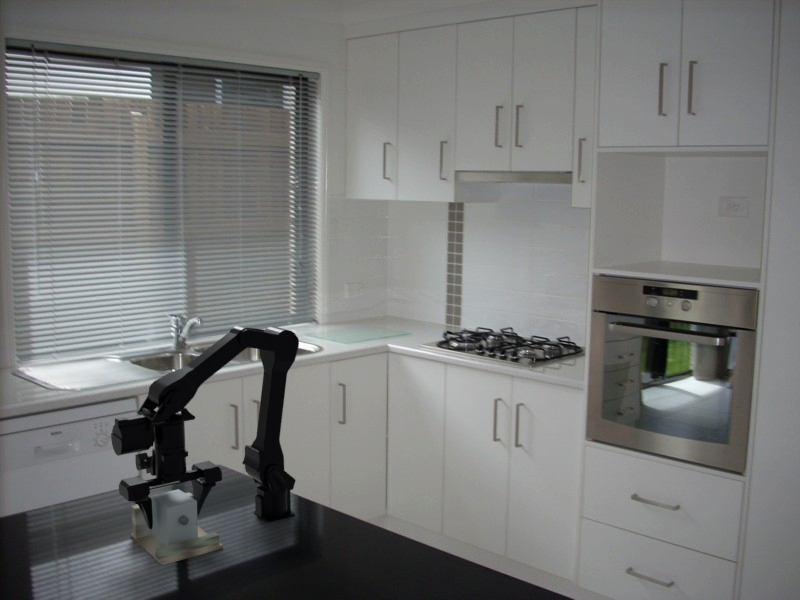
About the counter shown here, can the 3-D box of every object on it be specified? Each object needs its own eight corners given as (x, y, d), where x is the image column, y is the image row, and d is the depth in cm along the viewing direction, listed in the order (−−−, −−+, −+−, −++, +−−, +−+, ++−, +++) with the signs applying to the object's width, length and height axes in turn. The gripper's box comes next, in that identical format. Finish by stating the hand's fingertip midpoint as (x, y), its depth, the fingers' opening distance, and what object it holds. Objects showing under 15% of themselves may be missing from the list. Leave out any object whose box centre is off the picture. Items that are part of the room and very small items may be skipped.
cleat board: (188, 521, 175) (187, 490, 174) (222, 548, 163) (221, 515, 162) (130, 536, 168) (129, 504, 167) (162, 565, 155) (160, 530, 154)
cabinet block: (180, 527, 171) (178, 489, 170) (200, 542, 164) (199, 502, 163) (151, 535, 167) (149, 496, 166) (171, 550, 160) (169, 509, 159)
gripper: (198, 426, 175) (201, 499, 178) (107, 444, 164) (111, 521, 166) (221, 439, 167) (224, 516, 169) (127, 458, 155) (131, 540, 158)
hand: (173, 522), depth 166 cm, fingers open, 9 cm apart
